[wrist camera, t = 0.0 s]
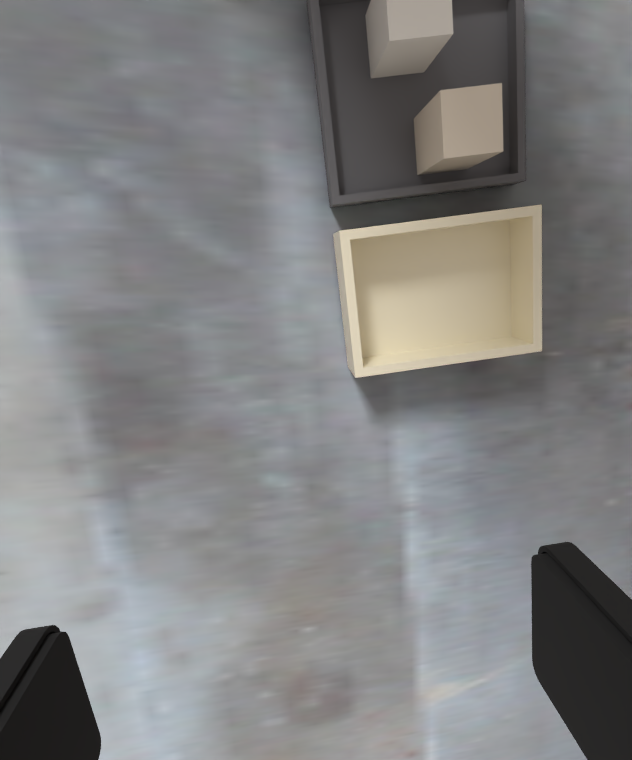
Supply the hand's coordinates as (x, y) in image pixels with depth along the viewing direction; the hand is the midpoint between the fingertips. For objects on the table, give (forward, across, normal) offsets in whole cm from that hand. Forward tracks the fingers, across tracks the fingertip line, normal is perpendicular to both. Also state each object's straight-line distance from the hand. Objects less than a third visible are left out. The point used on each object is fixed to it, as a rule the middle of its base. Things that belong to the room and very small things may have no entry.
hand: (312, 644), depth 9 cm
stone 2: (+31, -14, -14) cm, 37 cm away
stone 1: (+31, -11, -22) cm, 39 cm away
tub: (+31, -12, -4) cm, 34 cm away
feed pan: (+31, -12, -18) cm, 38 cm away
